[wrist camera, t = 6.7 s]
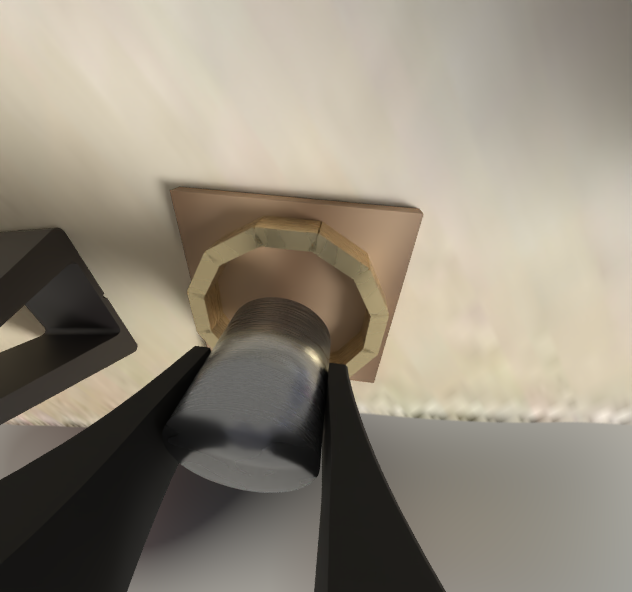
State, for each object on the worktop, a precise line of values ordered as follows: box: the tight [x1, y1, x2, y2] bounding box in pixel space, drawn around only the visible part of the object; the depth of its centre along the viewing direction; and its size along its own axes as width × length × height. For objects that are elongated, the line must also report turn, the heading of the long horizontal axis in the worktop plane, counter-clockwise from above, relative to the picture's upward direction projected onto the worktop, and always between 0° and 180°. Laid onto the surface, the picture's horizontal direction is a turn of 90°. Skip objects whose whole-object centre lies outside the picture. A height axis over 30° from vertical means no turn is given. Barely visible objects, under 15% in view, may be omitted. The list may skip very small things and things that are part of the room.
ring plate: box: [170, 187, 423, 383], centre depth 14 cm, size 11×11×2 cm
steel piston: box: [162, 297, 331, 493], centre depth 9 cm, size 5×5×5 cm
